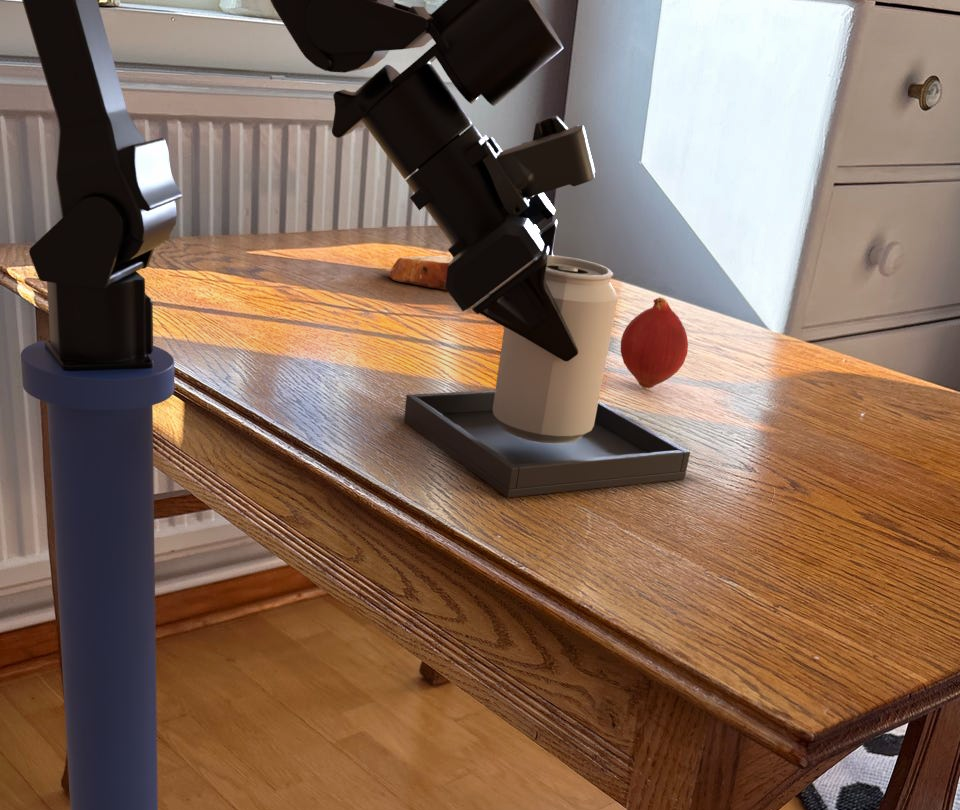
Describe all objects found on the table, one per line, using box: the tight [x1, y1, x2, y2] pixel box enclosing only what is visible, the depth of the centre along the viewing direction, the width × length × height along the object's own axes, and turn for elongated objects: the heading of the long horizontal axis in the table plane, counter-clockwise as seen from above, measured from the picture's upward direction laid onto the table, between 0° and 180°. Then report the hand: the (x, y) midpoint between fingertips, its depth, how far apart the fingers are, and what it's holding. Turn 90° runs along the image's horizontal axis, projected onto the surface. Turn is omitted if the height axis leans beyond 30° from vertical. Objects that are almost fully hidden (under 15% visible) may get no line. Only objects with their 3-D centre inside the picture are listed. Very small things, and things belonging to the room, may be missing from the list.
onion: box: [620, 296, 689, 390], centre depth 103 cm, size 6×6×8 cm
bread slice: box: [388, 255, 454, 291], centre depth 131 cm, size 18×18×4 cm
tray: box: [403, 389, 691, 499], centre depth 86 cm, size 15×15×2 cm
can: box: [493, 254, 619, 444], centre depth 83 cm, size 8×8×12 cm
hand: (574, 343), depth 83 cm, fingers closed on can, 7 cm apart
